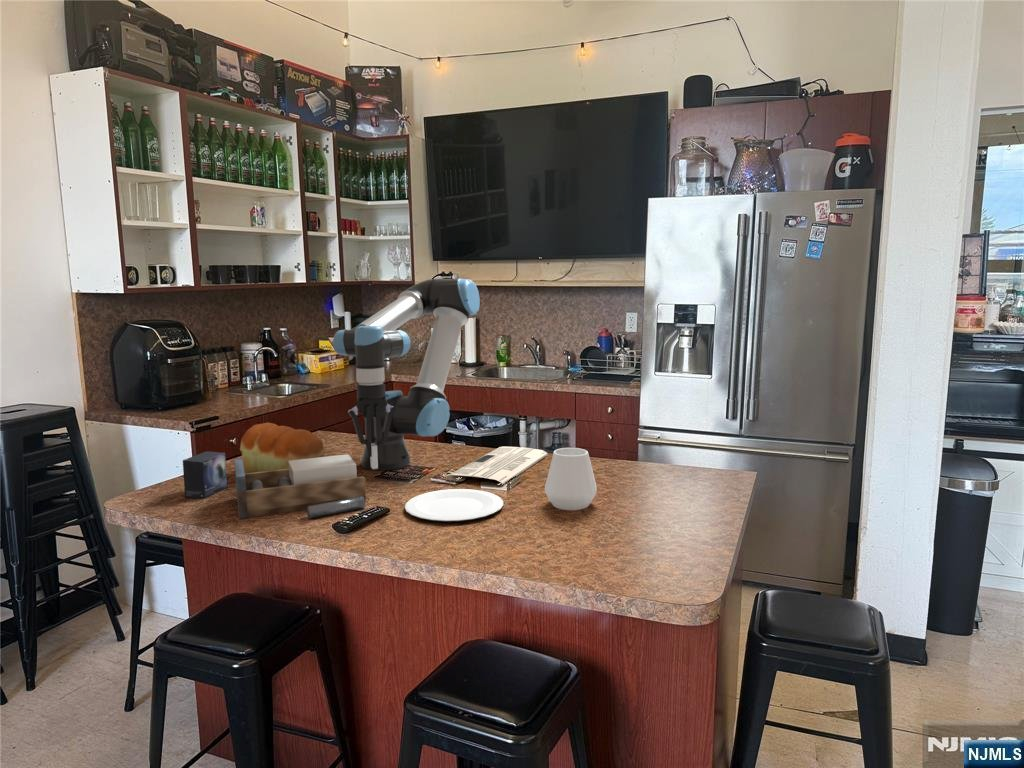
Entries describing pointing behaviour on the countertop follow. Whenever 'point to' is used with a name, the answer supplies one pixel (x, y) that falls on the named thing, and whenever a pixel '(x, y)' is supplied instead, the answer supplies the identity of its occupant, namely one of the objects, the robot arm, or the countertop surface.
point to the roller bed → (288, 492)
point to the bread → (277, 447)
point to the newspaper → (500, 464)
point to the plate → (454, 505)
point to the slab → (321, 469)
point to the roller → (335, 507)
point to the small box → (204, 474)
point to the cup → (570, 479)
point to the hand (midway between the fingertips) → (374, 467)
